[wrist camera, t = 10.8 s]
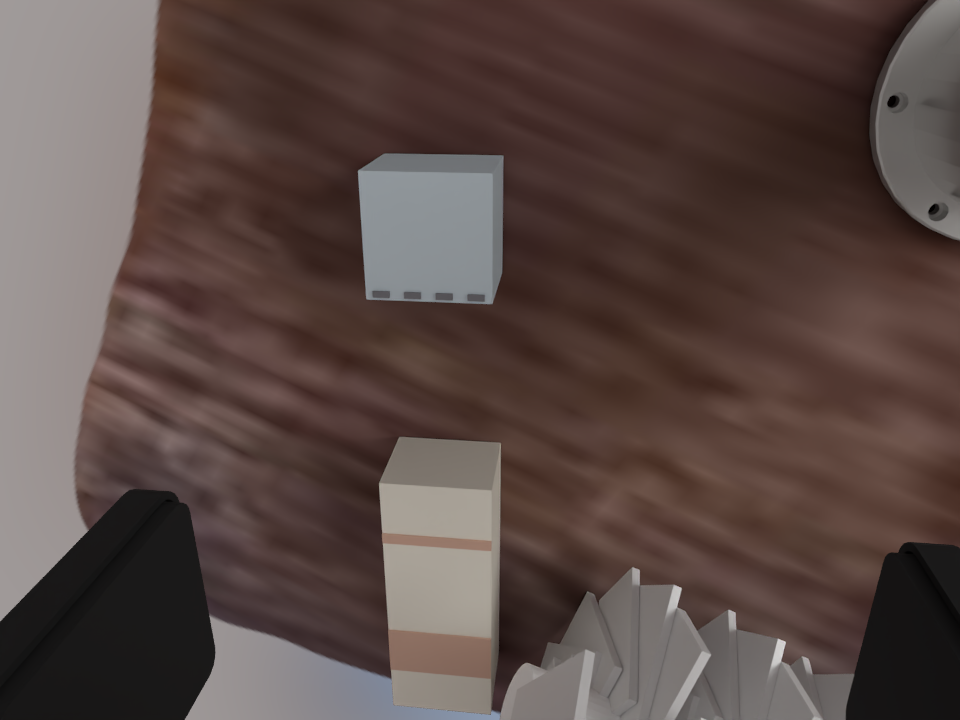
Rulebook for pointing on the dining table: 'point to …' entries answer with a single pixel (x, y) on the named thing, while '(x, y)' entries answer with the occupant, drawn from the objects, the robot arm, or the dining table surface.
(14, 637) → the robot arm
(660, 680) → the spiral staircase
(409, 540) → the block
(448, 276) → the grey box
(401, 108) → the dining table surface
